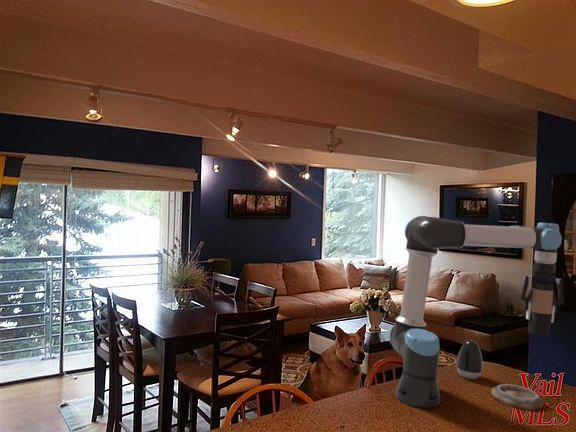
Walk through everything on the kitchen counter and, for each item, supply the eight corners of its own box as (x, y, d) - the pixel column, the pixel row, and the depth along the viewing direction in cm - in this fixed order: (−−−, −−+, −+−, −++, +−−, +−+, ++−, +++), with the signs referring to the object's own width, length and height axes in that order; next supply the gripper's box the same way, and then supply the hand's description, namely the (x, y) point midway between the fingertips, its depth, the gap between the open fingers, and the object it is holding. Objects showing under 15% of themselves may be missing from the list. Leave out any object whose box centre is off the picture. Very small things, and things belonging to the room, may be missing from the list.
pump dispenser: (463, 370, 196) (466, 335, 196) (486, 378, 188) (489, 341, 188) (450, 374, 190) (453, 338, 189) (474, 383, 182) (477, 345, 181)
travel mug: (552, 337, 175) (557, 285, 175) (530, 334, 177) (535, 283, 176) (545, 332, 183) (550, 282, 182) (524, 329, 184) (529, 280, 184)
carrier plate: (495, 404, 163) (495, 396, 163) (488, 386, 179) (488, 379, 179) (548, 413, 158) (549, 405, 158) (536, 394, 174) (537, 387, 174)
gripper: (518, 260, 178) (512, 318, 179) (577, 266, 173) (572, 326, 173) (514, 258, 186) (509, 314, 186) (571, 264, 180) (566, 322, 181)
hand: (539, 320), depth 180 cm, fingers closed on travel mug, 8 cm apart
